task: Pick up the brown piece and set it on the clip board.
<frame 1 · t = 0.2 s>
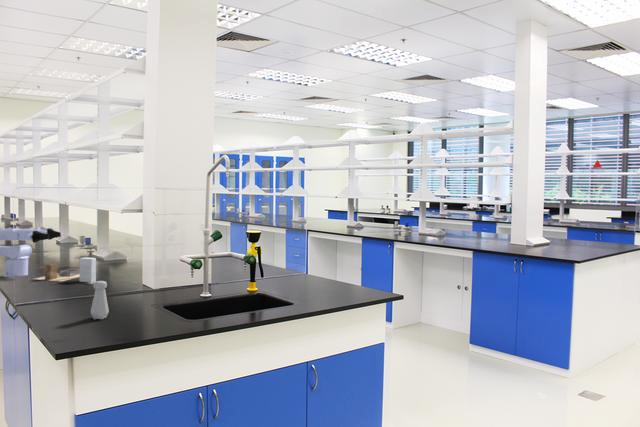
hand: (54, 235, 241), 21 cm above the countertop, tool horizontal, fingers open, 7 cm apart
clip board: (62, 278, 245), on the countertop
skincare box: (87, 283, 236), on the countertop
salt shaker: (99, 318, 175), on the countertop
brown piece: (51, 279, 237), point 1 cm above the countertop, touching clip board
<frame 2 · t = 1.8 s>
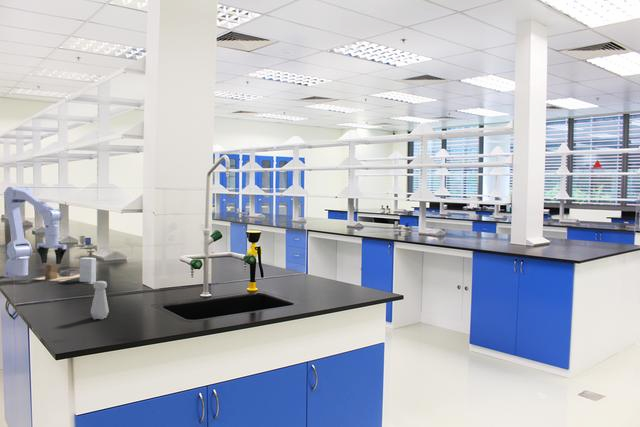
hand: (51, 263, 237), 8 cm above the countertop, tool pointing down, fingers open, 7 cm apart
nothing on the countertop moved.
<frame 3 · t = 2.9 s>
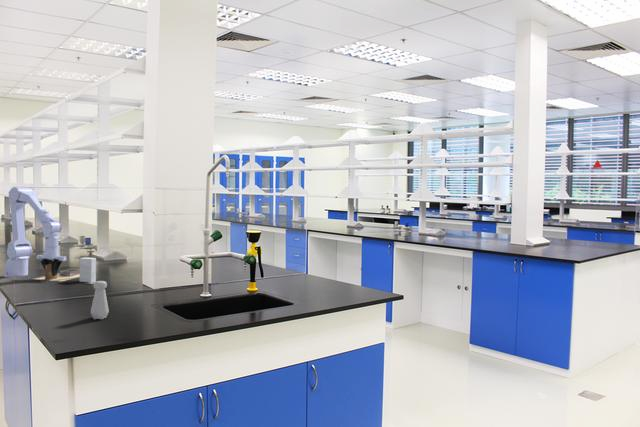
hand: (51, 275, 237), 3 cm above the countertop, tool pointing down, fingers closed on brown piece, 3 cm apart
brown piece: (51, 279, 237), point 1 cm above the countertop, touching clip board, gripper
everything else where it was.
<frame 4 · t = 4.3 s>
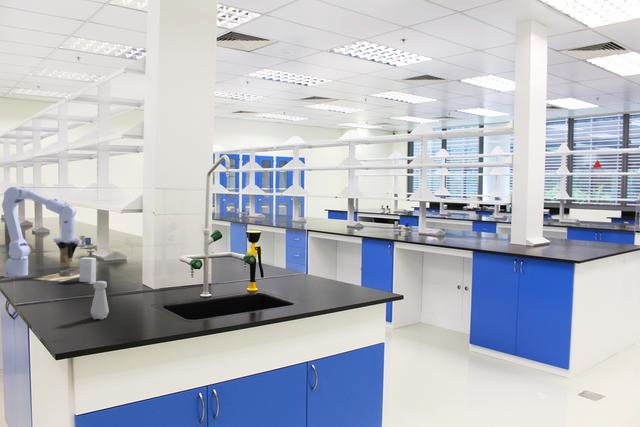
hand: (67, 257, 248), 10 cm above the countertop, tool pointing down, fingers closed on brown piece, 3 cm apart
brown piece: (66, 262, 247), point 8 cm above the countertop, touching gripper
everything else where it was.
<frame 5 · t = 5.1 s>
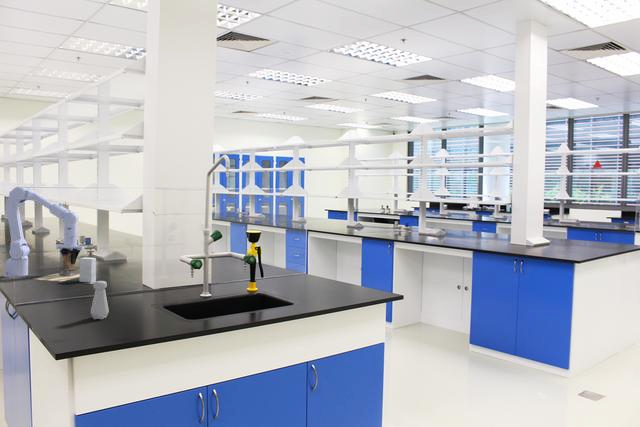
hand: (70, 263, 250), 7 cm above the countertop, tool pointing down, fingers closed on brown piece, 3 cm apart
brown piece: (69, 268, 249), point 4 cm above the countertop, touching gripper
everything else where it was.
when the fingers open (4 cm above the countertop, at t = 5.8 s): brown piece stays where it is, resting on clip board.
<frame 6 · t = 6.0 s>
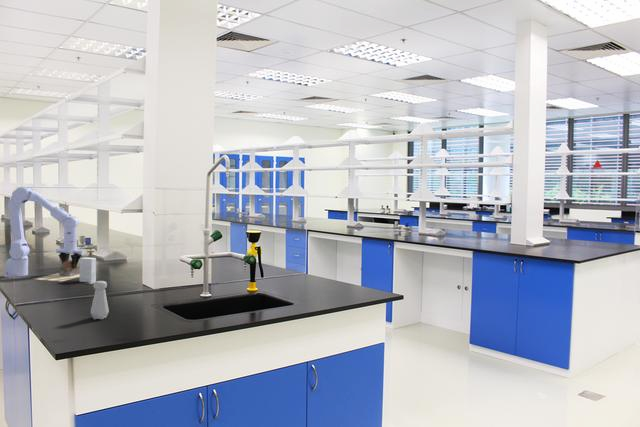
hand: (69, 268, 250), 4 cm above the countertop, tool pointing down, fingers open, 4 cm apart
brown piece: (69, 274, 250), point 1 cm above the countertop, touching clip board
everything else where it was.
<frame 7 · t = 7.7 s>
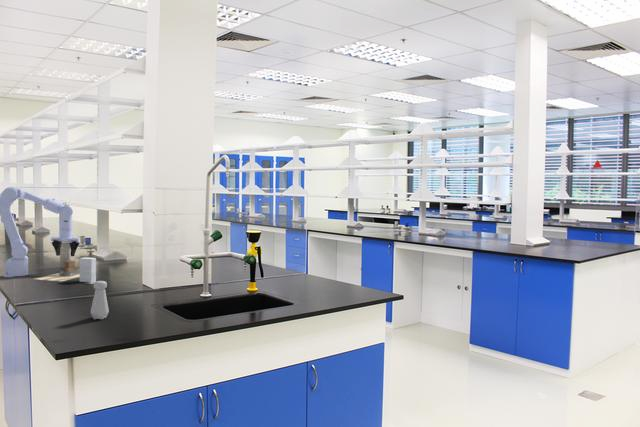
hand: (65, 255, 254), 10 cm above the countertop, tool pointing down, fingers open, 7 cm apart
nothing on the countertop moved.
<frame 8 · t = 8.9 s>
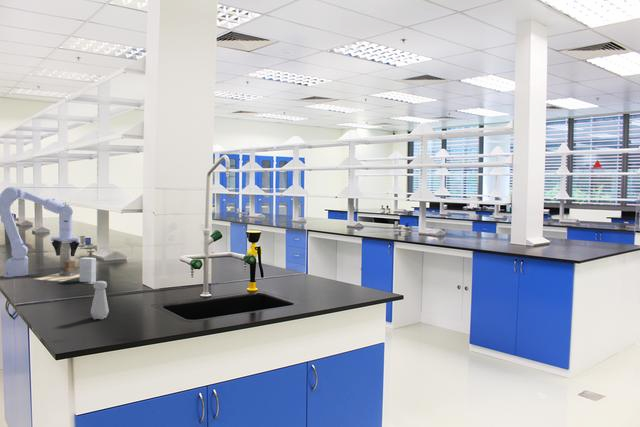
hand: (65, 255, 254), 10 cm above the countertop, tool pointing down, fingers open, 7 cm apart
nothing on the countertop moved.
at the end: brown piece 0.6 cm from the target spot on the clip board, point 1.0 cm above the clip board's base; brown piece tilted 0°; the gripper is holding nothing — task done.
